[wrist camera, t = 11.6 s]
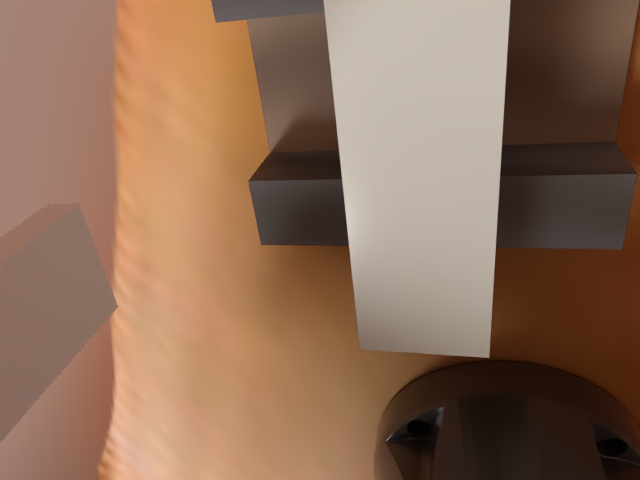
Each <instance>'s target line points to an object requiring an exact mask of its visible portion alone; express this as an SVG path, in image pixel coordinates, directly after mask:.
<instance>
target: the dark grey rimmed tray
mask: <svg viewBox="0 0 640 480" xmlns="http://www.w3.org/2000/svg"><path fill="white" fill-rule="evenodd" d="M211 1H212V6H213V11H214V16H215V21H216V23H217V22H227V21H237V20H247V24H248V30H249V35H250V41H251V47H252V52H253V58H254V64H255V69H256V75H257V81H258V86H259V92H260V98H261V103H262V109H263V115H264V120H265V126H266V131H267V137H268V143H269V148H270V154H269V155H268V156H267V158H266V159H265V160H264V161H263V163H262V164H261V165H260V167H259V168H258V169H257V171H256V172H255V173H254V174H253V176H252V177H251V178H250V180H249V181H248V182H249V187H250V192H251V196H252V201H253V206H254V211H255V216H256V221H257V226H258V231H259V235H260V240H261V245H325V246H349V240H348V231H347V221H346V212H345V202H344V192H343V183H342V173H341V164H340V154H339V144H338V135H337V125H336V115H335V106H334V96H333V87H332V77H331V67H330V58H329V48H328V39H327V29H326V19H325V10H324V0H211ZM638 5H639V0H510V16H509V33H508V50H507V67H506V84H505V101H504V117H503V134H502V151H501V168H500V185H499V201H498V218H497V235H496V248H559V249H623V244H624V238H625V233H626V228H627V223H628V218H629V213H630V208H631V203H632V198H633V193H634V188H635V183H636V178H637V173H636V171H635V170H634V168H633V167H632V165H631V164H630V162H629V161H628V159H627V158H626V156H625V155H624V153H623V152H622V150H621V149H620V148H619V146H618V145H617V143H616V142H615V141H616V135H617V130H618V124H619V118H620V112H621V106H622V100H623V94H624V88H625V82H626V76H627V70H628V65H629V59H630V53H631V47H632V41H633V35H634V29H635V23H636V17H637V11H638Z"/></svg>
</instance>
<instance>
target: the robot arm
mask: <svg viewBox="0 0 640 480" xmlns="http://www.w3.org/2000/svg"><path fill="white" fill-rule="evenodd" d="M117 307H118V305H117V303H116V300H115V297H114V295H113V292H112V290H111V287H110V284H109V282H108V279H107V277H106V274H105V271H104V269H103V266H102V263H101V261H100V258H99V255H98V253H97V250H96V247H95V245H94V242H93V240H92V237H91V234H90V232H89V229H88V226H87V224H86V221H85V219H84V216H83V213H82V211H81V208H80V205H79V203H77V204H76V203H75V204H48V205H46V206H45V207H44V208H42V209H40V210H39V211H38V212H36V213H35V214H33V215H32V216H30V217H29V218H28V219H26V220H25V221H23V222H22V223H21V224H19V225H18V226H16V227H15V228H13V229H12V230H11V231H9V232H8V233H6V234H5V235H4V236H2V237H1V238H0V442H1V441H2V440H3V439H4V438H5V437H6V435H7V434H8V433H9V432H10V431H11V430H12V428H13V427H14V426H15V425H16V424H17V422H19V421H20V419H21V418H22V417H23V416H24V415H25V414H26V412H27V411H28V410H29V409H30V407H32V405H33V404H34V403H35V402H36V401H37V400H38V398H39V397H40V396H41V395H42V394H43V393H44V392H45V390H46V389H47V388H48V387H49V386H50V385H51V384H52V382H53V381H54V380H55V379H56V378H57V376H58V375H59V374H60V373H61V372H62V371H63V370H64V368H65V367H66V366H67V365H68V364H69V363H70V361H71V360H72V359H73V358H74V357H75V356H76V354H77V353H78V352H79V351H80V350H81V349H82V348H83V346H84V345H85V344H86V343H87V342H88V341H89V340H90V338H91V337H92V336H93V335H94V334H95V333H96V331H97V330H98V329H99V328H100V327H101V326H102V325H103V323H104V322H105V321H106V320H107V319H108V318H109V316H110V315H111V314H112V313H113V312H114V311H115V309H116V308H117ZM374 474H375V480H640V428H639V426H638V424H637V423H636V421H635V420H634V418H633V417H632V416H631V414H630V413H629V412H628V411H627V410H626V409H625V408H624V407H623V406H622V405H621V404H620V403H619V402H618V401H617V400H616V399H614V398H613V397H612V396H611V395H609V394H608V393H606V392H605V391H603V390H602V389H600V388H598V387H597V386H595V385H593V384H591V383H589V382H587V381H585V380H583V379H581V378H579V377H576V376H574V375H571V374H568V373H566V372H562V371H559V370H556V369H552V368H548V367H544V366H539V365H534V364H527V363H518V362H501V361H496V362H477V363H469V364H463V365H457V366H453V367H449V368H446V369H442V370H439V371H436V372H434V373H431V374H429V375H426V376H424V377H422V378H420V379H418V380H416V381H415V382H413V383H411V384H410V385H408V386H407V387H406V388H404V389H403V390H402V391H401V392H399V393H398V394H397V395H396V396H395V397H394V398H393V400H392V401H391V402H390V403H389V405H388V406H387V407H386V409H385V411H384V413H383V415H382V417H381V420H380V423H379V428H378V434H377V440H376V447H375V454H374Z"/></svg>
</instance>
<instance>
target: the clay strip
mask: <svg viewBox="0 0 640 480" xmlns="http://www.w3.org/2000/svg"><path fill="white" fill-rule="evenodd" d="M324 10H325V19H326V29H327V39H328V48H329V58H330V67H331V77H332V87H333V96H334V106H335V115H336V125H337V135H338V144H339V154H340V164H341V173H342V183H343V192H344V202H345V212H346V221H347V231H348V240H349V250H350V260H351V269H352V279H353V288H354V298H355V308H356V317H357V327H358V336H359V346H360V350H373V351H389V352H405V353H421V354H436V355H452V356H468V357H483V358H489V353H490V336H491V319H492V302H493V285H494V269H495V252H496V235H497V218H498V201H499V185H500V168H501V151H502V134H503V117H504V101H505V84H506V67H507V50H508V33H509V16H510V0H324Z"/></svg>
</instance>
